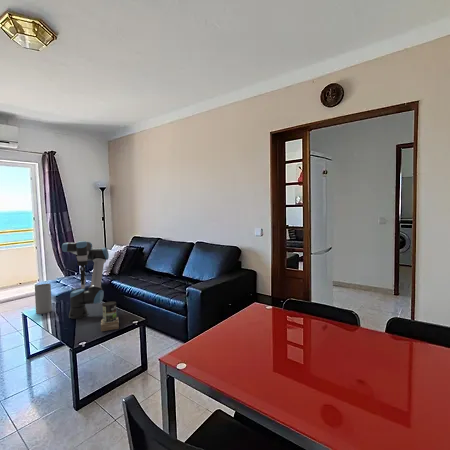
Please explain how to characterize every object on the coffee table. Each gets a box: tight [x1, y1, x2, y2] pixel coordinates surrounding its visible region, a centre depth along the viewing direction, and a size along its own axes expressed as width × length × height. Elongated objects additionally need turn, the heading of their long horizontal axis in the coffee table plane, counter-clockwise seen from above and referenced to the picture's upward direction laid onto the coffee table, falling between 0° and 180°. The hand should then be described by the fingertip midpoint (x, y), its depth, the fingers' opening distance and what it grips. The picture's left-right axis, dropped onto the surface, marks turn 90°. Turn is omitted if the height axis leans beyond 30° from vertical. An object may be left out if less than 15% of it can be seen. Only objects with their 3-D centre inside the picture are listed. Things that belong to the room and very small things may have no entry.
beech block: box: [100, 316, 120, 332], centre depth 232 cm, size 13×13×5 cm
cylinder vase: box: [34, 283, 53, 315], centre depth 268 cm, size 12×12×25 cm
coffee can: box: [101, 300, 117, 323], centre depth 231 cm, size 10×10×14 cm
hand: (83, 286), depth 234 cm, fingers open, 13 cm apart
